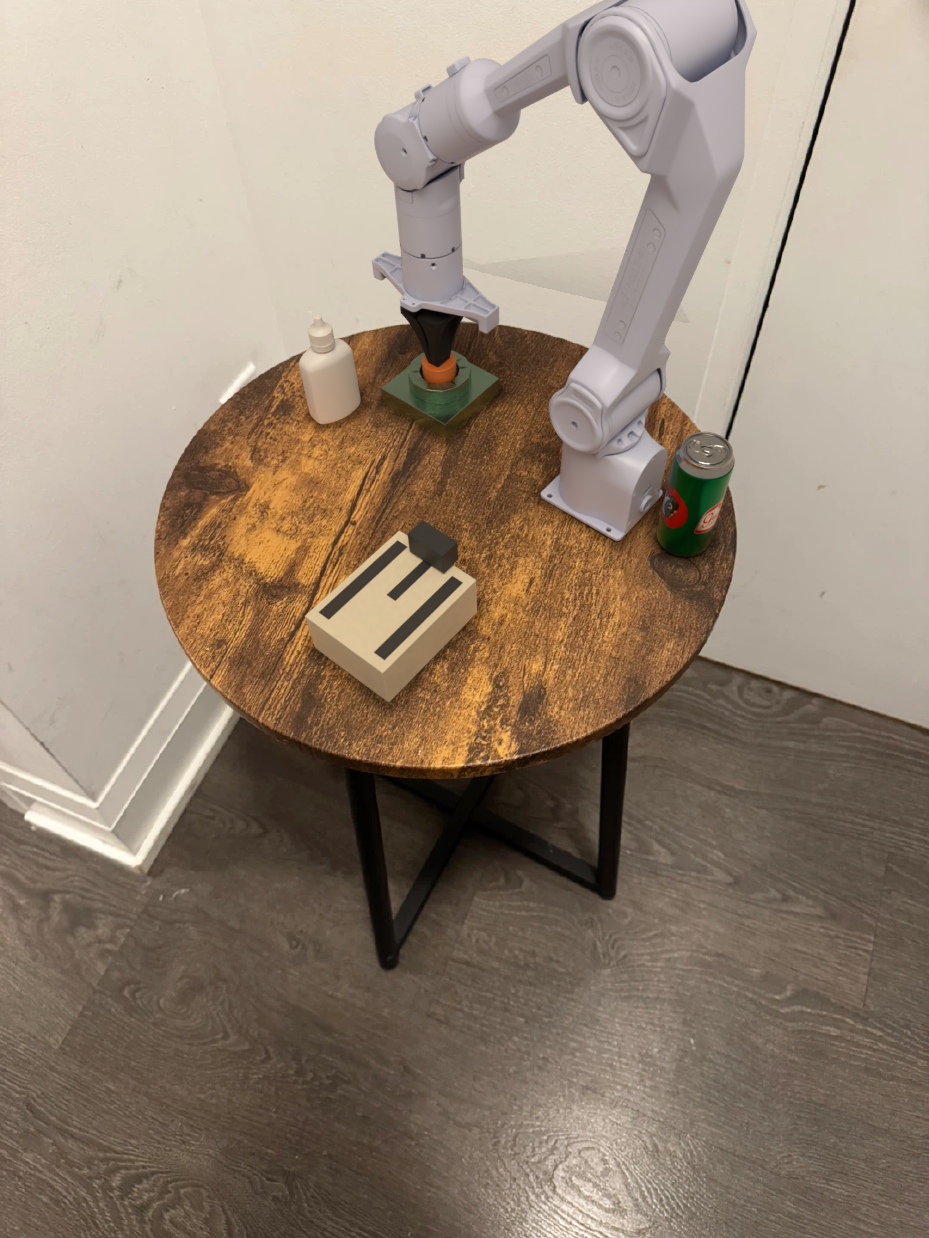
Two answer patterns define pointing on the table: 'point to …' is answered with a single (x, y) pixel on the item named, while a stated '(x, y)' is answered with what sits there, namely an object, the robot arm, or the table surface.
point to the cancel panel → (441, 395)
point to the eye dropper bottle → (328, 375)
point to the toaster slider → (433, 546)
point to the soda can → (695, 493)
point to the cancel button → (439, 370)
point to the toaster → (392, 616)
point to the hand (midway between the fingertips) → (439, 360)
